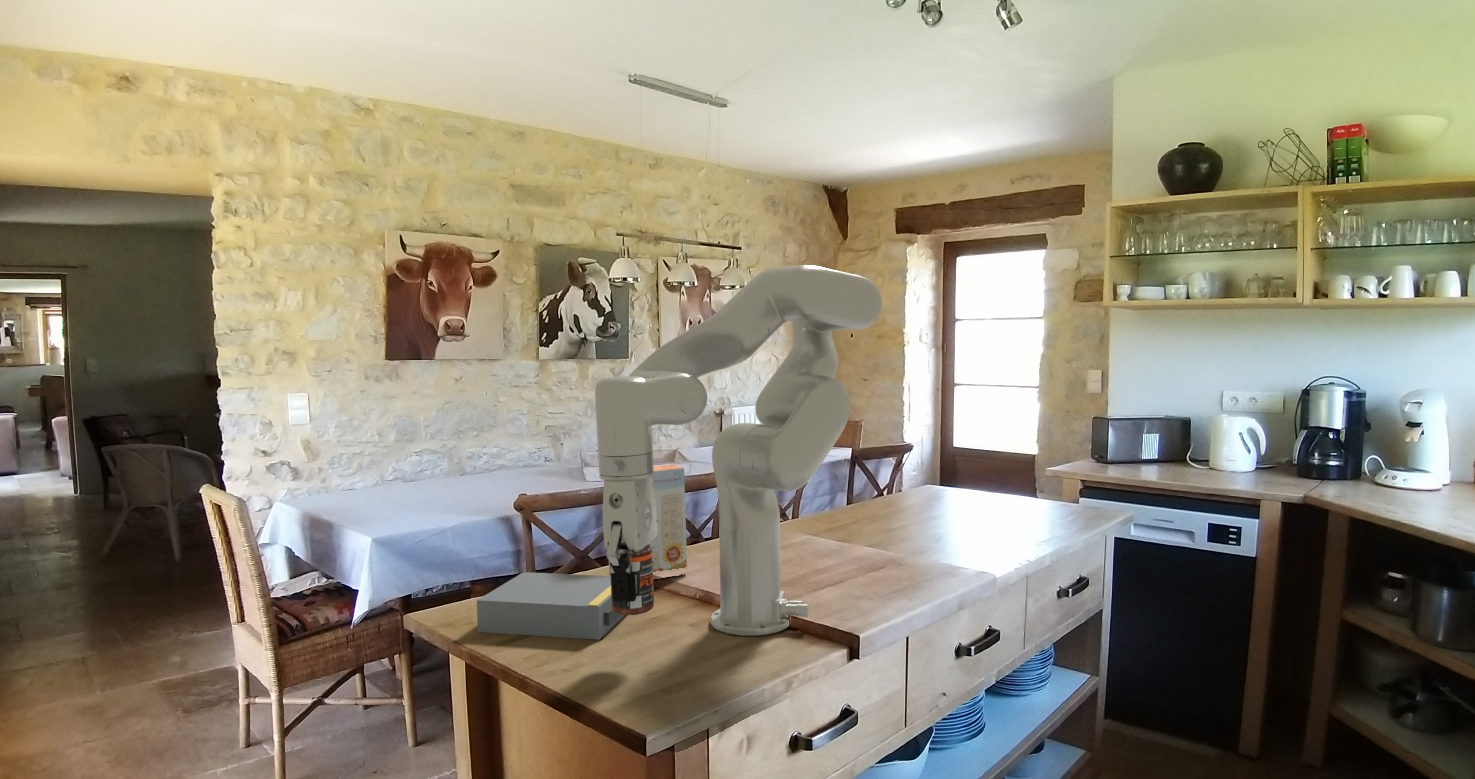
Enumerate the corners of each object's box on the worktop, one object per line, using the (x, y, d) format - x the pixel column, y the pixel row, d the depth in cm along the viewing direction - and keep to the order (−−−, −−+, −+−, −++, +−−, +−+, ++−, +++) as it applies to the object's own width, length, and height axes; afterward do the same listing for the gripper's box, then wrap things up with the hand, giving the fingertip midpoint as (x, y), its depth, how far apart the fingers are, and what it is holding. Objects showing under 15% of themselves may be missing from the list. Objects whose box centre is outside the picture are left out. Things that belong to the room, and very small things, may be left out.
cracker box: (674, 568, 164) (672, 463, 163) (688, 576, 159) (686, 467, 158) (607, 579, 157) (604, 469, 156) (619, 587, 152) (616, 473, 151)
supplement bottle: (648, 617, 114) (644, 536, 113) (606, 616, 115) (602, 535, 114) (659, 602, 120) (655, 525, 119) (619, 602, 121) (615, 525, 120)
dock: (638, 606, 141) (637, 576, 140) (604, 639, 125) (603, 605, 125) (524, 600, 145) (523, 570, 145) (477, 631, 129) (476, 598, 129)
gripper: (631, 477, 106) (638, 614, 108) (669, 455, 123) (675, 574, 125) (576, 477, 108) (584, 613, 109) (621, 455, 125) (627, 573, 126)
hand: (632, 591), depth 117 cm, fingers closed on supplement bottle, 5 cm apart
